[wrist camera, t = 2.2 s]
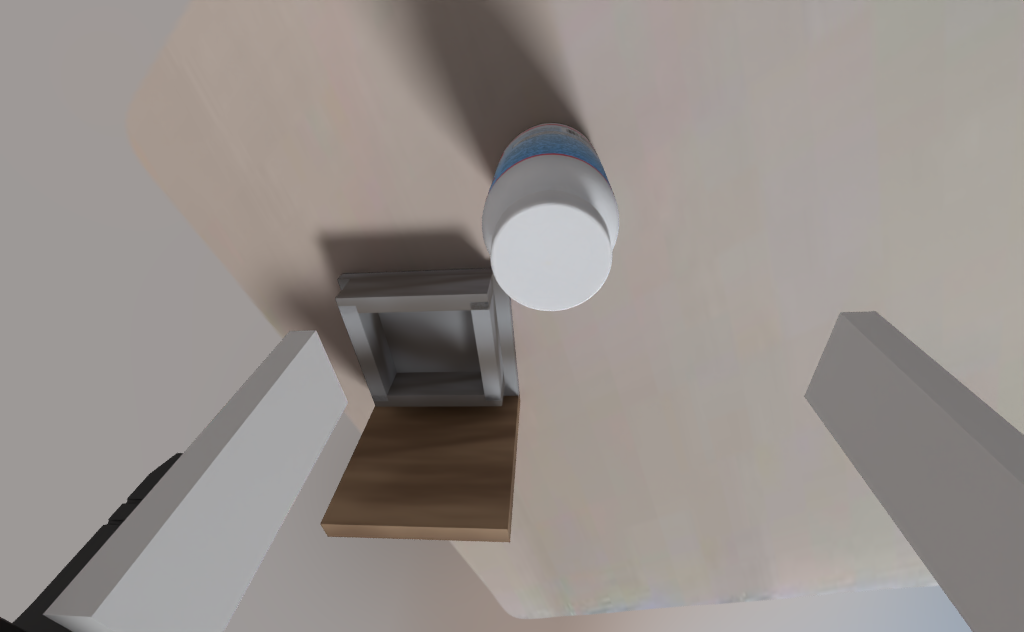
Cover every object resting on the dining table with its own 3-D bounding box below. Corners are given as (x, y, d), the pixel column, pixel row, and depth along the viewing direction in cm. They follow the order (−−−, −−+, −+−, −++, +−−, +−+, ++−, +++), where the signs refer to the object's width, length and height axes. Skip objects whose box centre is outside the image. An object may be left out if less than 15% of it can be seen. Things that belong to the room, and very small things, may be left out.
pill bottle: (479, 152, 24) (438, 225, 15) (576, 100, 22) (597, 146, 13) (525, 239, 27) (514, 345, 18) (614, 199, 25) (653, 294, 16)
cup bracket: (341, 273, 29) (238, 393, 20) (507, 267, 28) (486, 392, 18) (386, 402, 37) (328, 536, 27) (520, 401, 36) (509, 542, 26)
